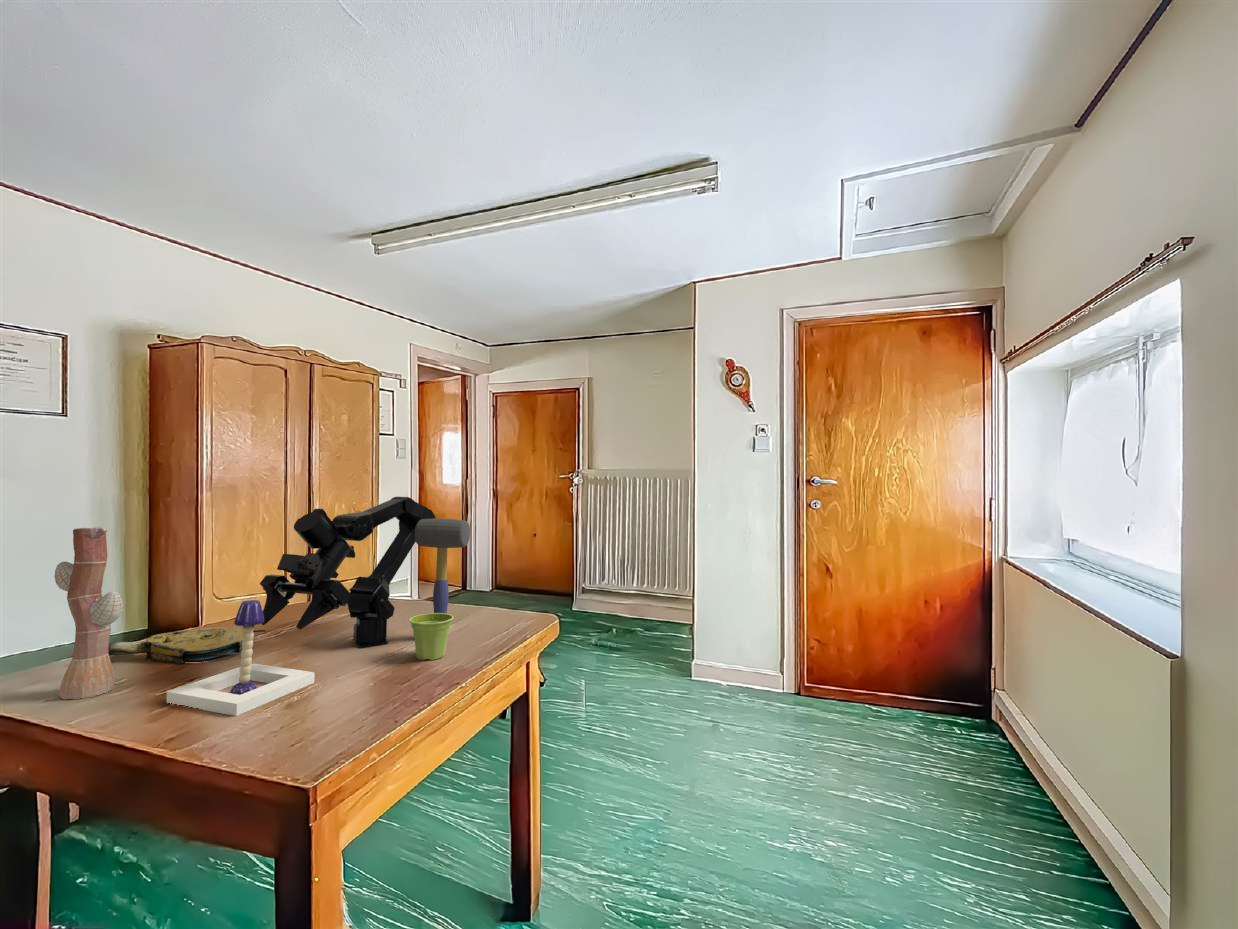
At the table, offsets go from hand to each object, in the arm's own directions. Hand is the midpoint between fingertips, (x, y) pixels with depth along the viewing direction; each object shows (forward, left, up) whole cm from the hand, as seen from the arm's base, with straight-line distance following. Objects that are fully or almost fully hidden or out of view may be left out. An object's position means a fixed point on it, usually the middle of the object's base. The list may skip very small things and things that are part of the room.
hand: (279, 626), depth 109 cm
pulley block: (+15, -29, -11) cm, 34 cm away
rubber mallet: (-36, -10, -11) cm, 39 cm away
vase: (+29, -13, -11) cm, 33 cm away
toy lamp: (+5, +4, -11) cm, 13 cm away
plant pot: (-29, +3, -11) cm, 31 cm away
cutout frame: (+6, +4, -10) cm, 13 cm away
